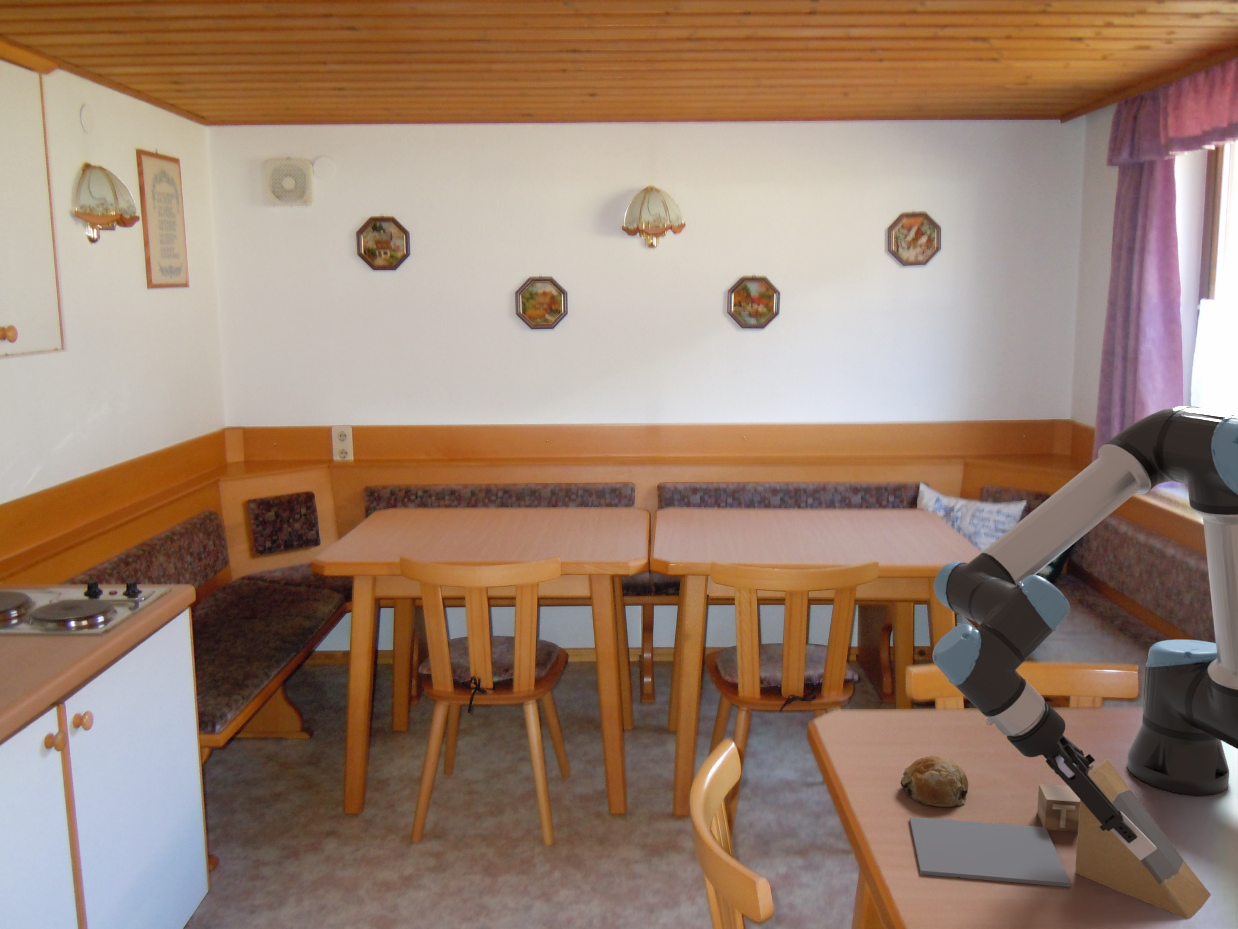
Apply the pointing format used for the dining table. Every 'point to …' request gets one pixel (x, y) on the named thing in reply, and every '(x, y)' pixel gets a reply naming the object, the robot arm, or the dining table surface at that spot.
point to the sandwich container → (1118, 868)
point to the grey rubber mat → (987, 851)
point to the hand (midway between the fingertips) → (1132, 827)
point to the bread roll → (935, 782)
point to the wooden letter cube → (1058, 808)
